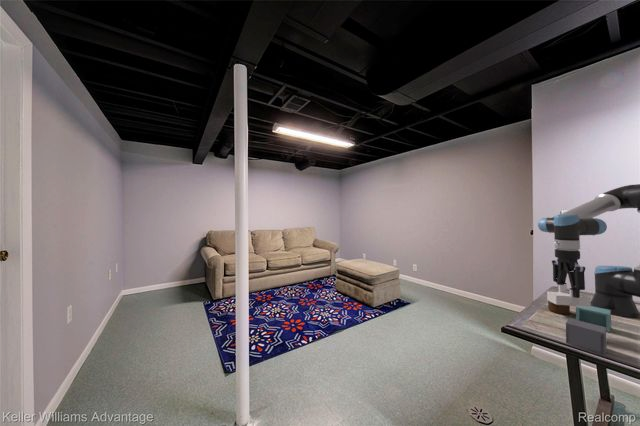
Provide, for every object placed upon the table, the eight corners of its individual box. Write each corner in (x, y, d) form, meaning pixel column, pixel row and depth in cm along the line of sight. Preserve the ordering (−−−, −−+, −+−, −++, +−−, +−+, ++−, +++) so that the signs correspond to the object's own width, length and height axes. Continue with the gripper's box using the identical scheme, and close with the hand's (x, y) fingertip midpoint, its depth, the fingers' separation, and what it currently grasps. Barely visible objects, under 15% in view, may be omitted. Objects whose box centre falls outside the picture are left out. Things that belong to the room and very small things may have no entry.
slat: (579, 301, 99) (579, 293, 99) (590, 306, 94) (590, 297, 94) (547, 300, 102) (547, 291, 101) (556, 304, 97) (556, 295, 97)
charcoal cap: (569, 336, 91) (568, 318, 91) (606, 348, 83) (606, 327, 83) (566, 342, 87) (565, 322, 87) (605, 355, 79) (604, 333, 79)
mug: (563, 318, 107) (563, 299, 107) (542, 312, 113) (541, 294, 113) (572, 313, 112) (571, 294, 112) (551, 307, 119) (551, 290, 119)
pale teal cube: (578, 319, 105) (578, 303, 105) (611, 327, 98) (610, 310, 98) (576, 323, 101) (575, 307, 101) (609, 332, 94) (609, 314, 94)
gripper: (541, 246, 107) (542, 294, 107) (575, 252, 90) (577, 310, 90) (559, 246, 106) (561, 294, 106) (598, 253, 88) (600, 311, 88)
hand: (568, 301), depth 98 cm, fingers closed on slat, 5 cm apart
